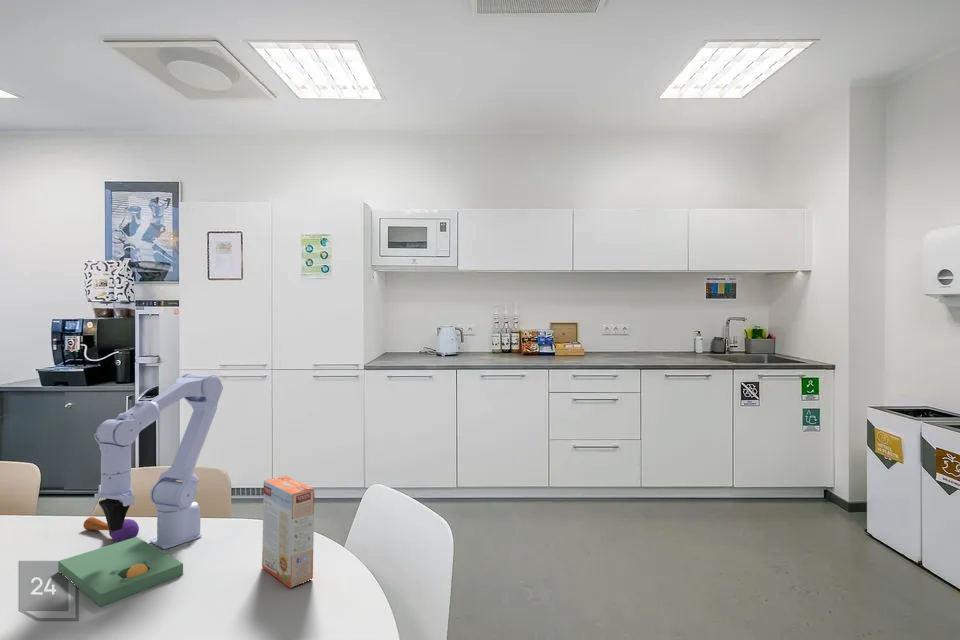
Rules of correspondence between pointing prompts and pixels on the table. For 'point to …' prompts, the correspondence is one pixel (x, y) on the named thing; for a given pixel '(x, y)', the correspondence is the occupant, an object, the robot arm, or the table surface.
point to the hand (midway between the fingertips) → (115, 529)
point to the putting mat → (119, 570)
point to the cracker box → (288, 530)
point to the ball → (136, 570)
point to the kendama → (127, 531)
